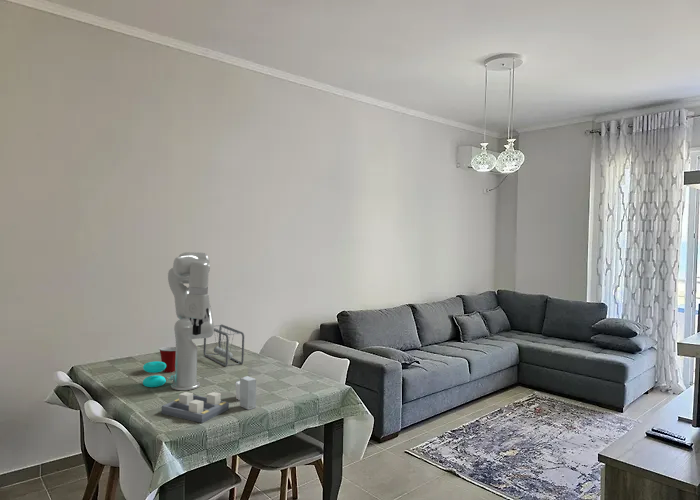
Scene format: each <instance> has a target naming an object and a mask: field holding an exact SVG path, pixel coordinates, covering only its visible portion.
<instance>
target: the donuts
mask: <svg viewBox="0 0 700 500" xmlns="http://www.w3.org/2000/svg"><path fill="white" fill-rule="evenodd" d="M142 366H143V367H142V369H143V371H145V372H146V373H150V374H151V373H152V374H156V373H161V372H163V370H164V369H165V368H166V364H165V363H164V362H162V361H156V360H155V361H149V362H146V363H145V364H143V365H142ZM166 382H167V380H166V378H165V377H164V376H163V375H159V374H158V375H149V376H147V377H144V379H143V380H142V385H143V386H144V387H147V388H158V387H162V386H164V385H165V384H166Z"/></svg>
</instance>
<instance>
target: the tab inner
mask: <svg viewBox="0 0 700 500" xmlns="http://www.w3.org/2000/svg"><path fill="white" fill-rule="evenodd" d="M221 396H222V394H221V393H220V392H215V391H213V392H209V393H207V394H206V398H207V403H209V404H214V405H218V404H220V402H221V401H222V400H221Z"/></svg>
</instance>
